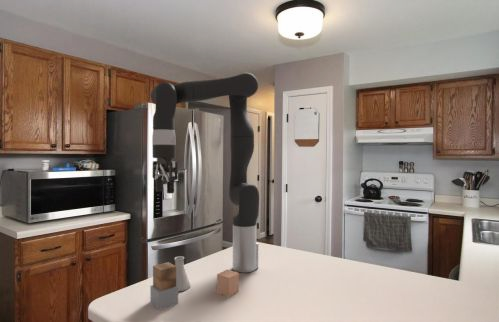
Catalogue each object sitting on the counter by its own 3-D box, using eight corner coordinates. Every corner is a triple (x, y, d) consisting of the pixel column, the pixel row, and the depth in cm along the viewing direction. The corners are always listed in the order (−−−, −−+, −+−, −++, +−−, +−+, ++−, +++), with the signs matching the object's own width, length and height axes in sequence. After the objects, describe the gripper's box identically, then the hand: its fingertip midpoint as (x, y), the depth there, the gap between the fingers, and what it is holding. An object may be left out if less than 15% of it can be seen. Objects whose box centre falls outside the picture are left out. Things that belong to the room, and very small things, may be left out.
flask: (185, 293, 99) (185, 262, 99) (164, 291, 100) (164, 260, 100) (193, 284, 106) (193, 255, 106) (174, 282, 107) (174, 253, 107)
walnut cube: (168, 281, 96) (168, 262, 96) (176, 286, 92) (176, 266, 92) (153, 285, 93) (153, 265, 93) (160, 291, 89) (160, 270, 89)
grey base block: (169, 296, 97) (169, 280, 97) (178, 303, 92) (178, 286, 92) (150, 302, 93) (150, 285, 93) (158, 309, 88) (158, 292, 88)
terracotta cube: (227, 287, 103) (227, 269, 103) (238, 291, 100) (239, 272, 100) (217, 292, 99) (217, 274, 99) (229, 296, 96) (229, 277, 96)
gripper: (184, 143, 101) (185, 193, 101) (165, 144, 112) (165, 189, 112) (162, 143, 96) (163, 195, 96) (144, 144, 107) (145, 191, 107)
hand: (164, 192), depth 104 cm, fingers open, 8 cm apart
